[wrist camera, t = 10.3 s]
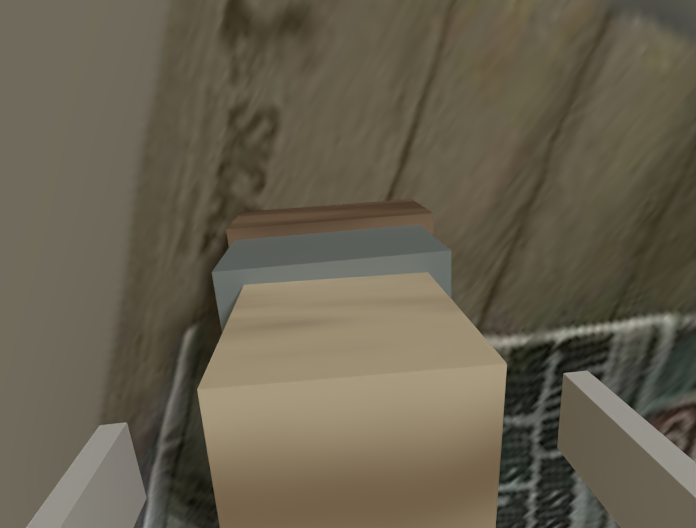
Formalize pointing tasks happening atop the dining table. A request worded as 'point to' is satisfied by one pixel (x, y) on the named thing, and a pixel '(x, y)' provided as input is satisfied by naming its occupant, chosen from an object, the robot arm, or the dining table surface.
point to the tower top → (329, 259)
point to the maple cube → (353, 408)
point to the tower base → (328, 219)
